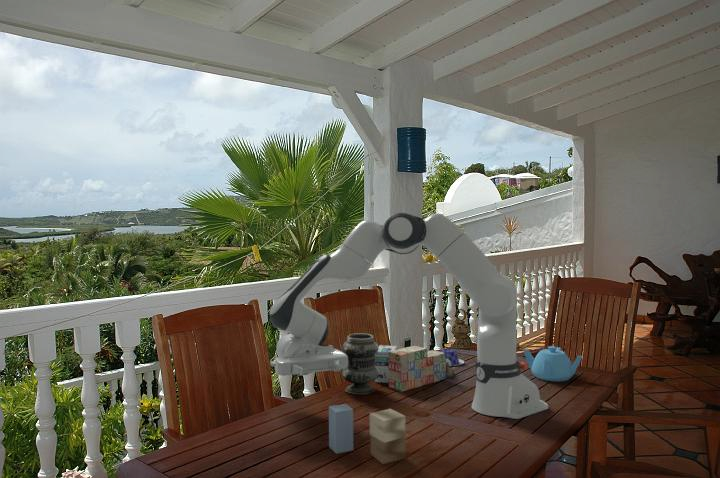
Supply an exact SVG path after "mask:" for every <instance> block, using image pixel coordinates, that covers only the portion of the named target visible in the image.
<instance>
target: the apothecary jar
mask: <svg viewBox="0 0 720 478" xmlns="http://www.w3.org/2000/svg"><path fill="white" fill-rule="evenodd" d="M341 347H342V348H341V349H342V352H343V353H345V354H346V355H347V356H348V367H347V368H346V369H341V370H342V371H341V376H342V378H343V379H344V380H345V381H346V382H348V383H351V384H350V385H348V386H347V387H345V389H344V391H345V392H346V393H347V392H348V394H350V393H351V395H359V396H362V395H369V394H371V393H375V392H376V388H375V386H373V385H370V384H369V383H372V382H374V381H375V379H376V378H377V377H378V375H379V372H378V370H377V368H376V367H375V353H377V351H378V348H379V345H378V343H377V342H375V340H374V335H373V334H369V333H363V332H361V333H360V332H359V333H358V332H357V333H352V334H351V333H350V334H348V335H347V337H346V341H345V342H344V343H343V344H342V346H341Z"/></svg>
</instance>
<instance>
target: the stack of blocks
mask: <svg viewBox="0 0 720 478" xmlns="http://www.w3.org/2000/svg"><path fill="white" fill-rule="evenodd" d="M388 356H389V361H388V369H389V383H388V388H389V389H392V390H395V391H398V392H400V393H401V392H405V391H409V390H413V389H416V388H420V387H422V386H425V385H426V386H427V385H429V384H432V383H437V382H440V381H444V380H446V379H447V378H446V362H445V361H446V358H445V353H443V352H441V351H438V350H435V349H434V350H433V349H431V350H428V348H427V347H422V346H418V345H412V346H407V347H402V348H398V350H393V351H389V352H388Z"/></svg>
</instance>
